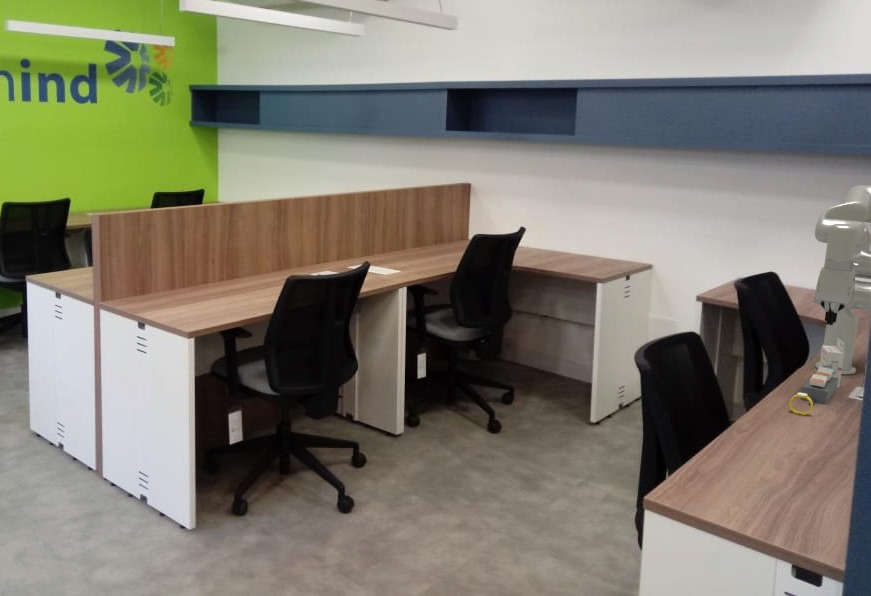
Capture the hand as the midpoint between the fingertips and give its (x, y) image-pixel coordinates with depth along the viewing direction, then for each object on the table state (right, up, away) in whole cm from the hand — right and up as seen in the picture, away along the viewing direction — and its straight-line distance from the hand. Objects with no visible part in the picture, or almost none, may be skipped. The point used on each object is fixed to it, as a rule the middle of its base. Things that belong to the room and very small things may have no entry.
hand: (829, 323), depth 241 cm
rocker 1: (+1, -16, +6) cm, 17 cm away
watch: (-16, -25, -14) cm, 33 cm away
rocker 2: (-4, -17, -1) cm, 18 cm away
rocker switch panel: (-3, -22, +2) cm, 23 cm away
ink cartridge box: (+7, -20, +16) cm, 27 cm away
